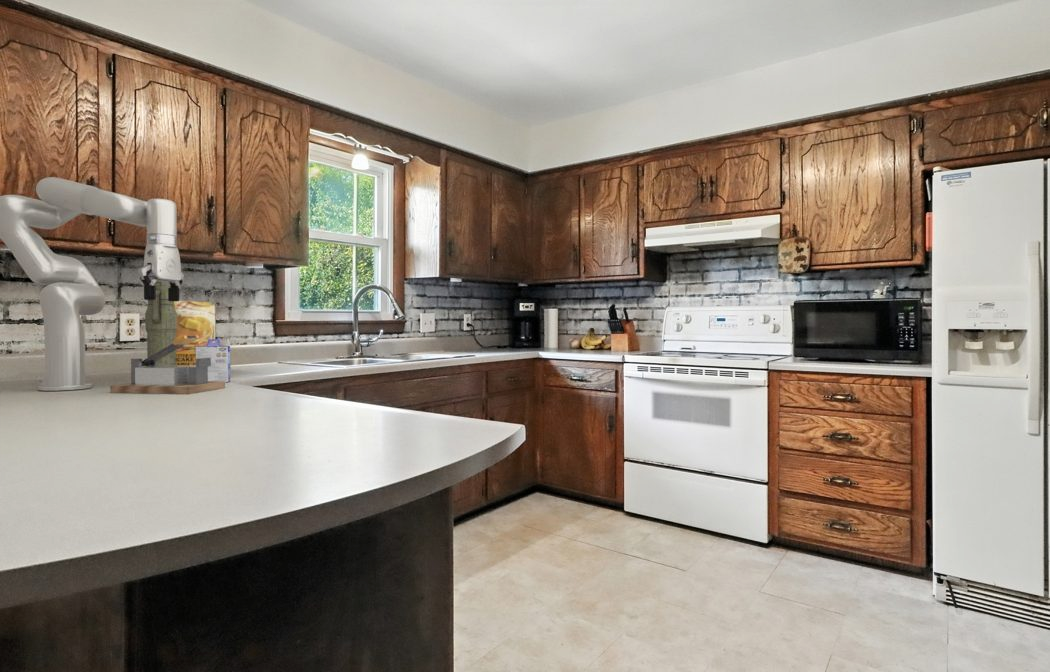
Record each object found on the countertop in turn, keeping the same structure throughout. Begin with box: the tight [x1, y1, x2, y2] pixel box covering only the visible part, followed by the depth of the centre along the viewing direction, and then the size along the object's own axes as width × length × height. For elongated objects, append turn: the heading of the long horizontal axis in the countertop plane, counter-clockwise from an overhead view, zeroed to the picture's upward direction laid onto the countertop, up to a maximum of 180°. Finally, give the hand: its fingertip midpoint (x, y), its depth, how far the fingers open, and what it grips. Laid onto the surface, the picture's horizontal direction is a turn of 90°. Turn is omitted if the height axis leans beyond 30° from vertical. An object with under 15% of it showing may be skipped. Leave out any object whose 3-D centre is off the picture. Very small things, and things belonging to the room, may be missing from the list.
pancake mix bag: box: [174, 299, 217, 365], centre depth 206 cm, size 7×19×28 cm, turn 118°
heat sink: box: [135, 365, 196, 386], centre depth 172 cm, size 12×12×5 cm
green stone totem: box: [144, 281, 177, 367], centre depth 191 cm, size 9×12×35 cm
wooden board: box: [109, 381, 226, 395], centre depth 172 cm, size 24×16×2 cm, turn 83°
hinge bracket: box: [130, 357, 158, 384], centre depth 173 cm, size 2×7×7 cm, turn 173°
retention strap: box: [142, 335, 199, 367], centre depth 172 cm, size 18×6×1 cm, turn 82°
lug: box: [188, 358, 211, 385], centre depth 171 cm, size 3×5×8 cm
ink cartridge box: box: [196, 338, 232, 383], centre depth 196 cm, size 10×6×14 cm, turn 110°
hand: (162, 300), depth 173 cm, fingers open, 9 cm apart
